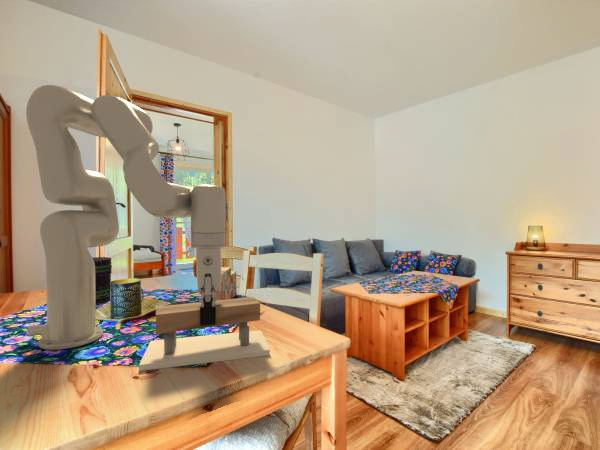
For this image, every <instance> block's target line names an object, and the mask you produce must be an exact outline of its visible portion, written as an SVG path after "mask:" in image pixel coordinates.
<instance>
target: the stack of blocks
mask: <svg viewBox="0 0 600 450" xmlns="http://www.w3.org/2000/svg"><path fill="white" fill-rule="evenodd" d="M236 295H237V270H232V267H231V266H221V292H220V293H218V291H215V301H218V300H228V299H234V297H235V296H236Z"/></svg>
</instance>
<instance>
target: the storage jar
mask: <svg viewBox="0 0 600 450" xmlns="http://www.w3.org/2000/svg"><path fill="white" fill-rule="evenodd" d="M92 258H93V260H94V264H95V299H96V304H103V303H106V302H109V301H111V300H110V282H111V283H112V267H113V266H112V265H113V264H112V257H106V256H103V257H102V256H97V257H92Z"/></svg>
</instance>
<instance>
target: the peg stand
mask: <svg viewBox="0 0 600 450" xmlns="http://www.w3.org/2000/svg"><path fill="white" fill-rule="evenodd" d="M270 350H271V349H270V347H269V344H268V343H267V341H266V338H265V336H264V333H263V332H262V330H260V329H259V330H250V326H248V322H243V323H238V332H229V333H220V334H219V333H218V334H209V335H198V336H189V337H188V336H187V337H177V332H169V333H163V339H157V340H150V342H149V344H148V345H147V348H146V350H145V352H144V354H143V356H142V358H141V360H140V362H139V364H138V372H141V371H143V372H144V371H151V370H157V369H167V368H176V367H182V366H190V365H191V366H192V365H198V364H207V363H216V362H217V363H218V362H224V361H232V360H241V359H248V358H249V359H250V358H257V357H264V356H265V357H266V356H270V353H271V351H270Z"/></svg>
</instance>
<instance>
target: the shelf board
mask: <svg viewBox="0 0 600 450" xmlns="http://www.w3.org/2000/svg"><path fill="white" fill-rule="evenodd" d="M215 306H216V323H215V325H205V326H201V325H200V307H201V301H200V302H189V303H188V302H187V303H182V304H179V303H178V304H172V305H171V304H169V305H159V306H155V335H160V334H166V333H169V332H176V333H177V332H182V331H191V330H197V329H204V328H205V329H206V328H213V327H219V326H226V325H235V324H239V323H243V322H247V323H249V322H250V323H251V322H256V321H260V320H261V302H259V300H257V299H256V298H255V297H254V296H249V297H247V296H246V297H238V298H232V299H228V300H218V301H215Z"/></svg>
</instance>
